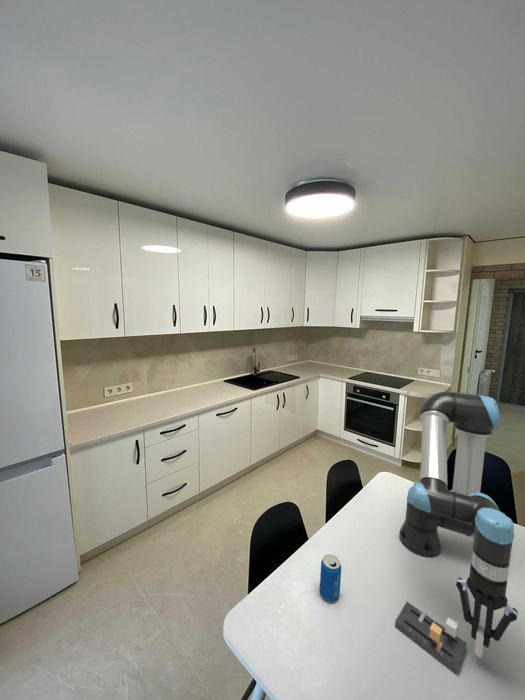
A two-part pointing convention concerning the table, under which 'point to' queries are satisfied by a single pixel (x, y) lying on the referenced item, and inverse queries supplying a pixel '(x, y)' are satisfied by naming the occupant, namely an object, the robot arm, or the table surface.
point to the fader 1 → (435, 633)
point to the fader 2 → (451, 628)
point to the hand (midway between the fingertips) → (478, 652)
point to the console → (418, 631)
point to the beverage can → (330, 578)
